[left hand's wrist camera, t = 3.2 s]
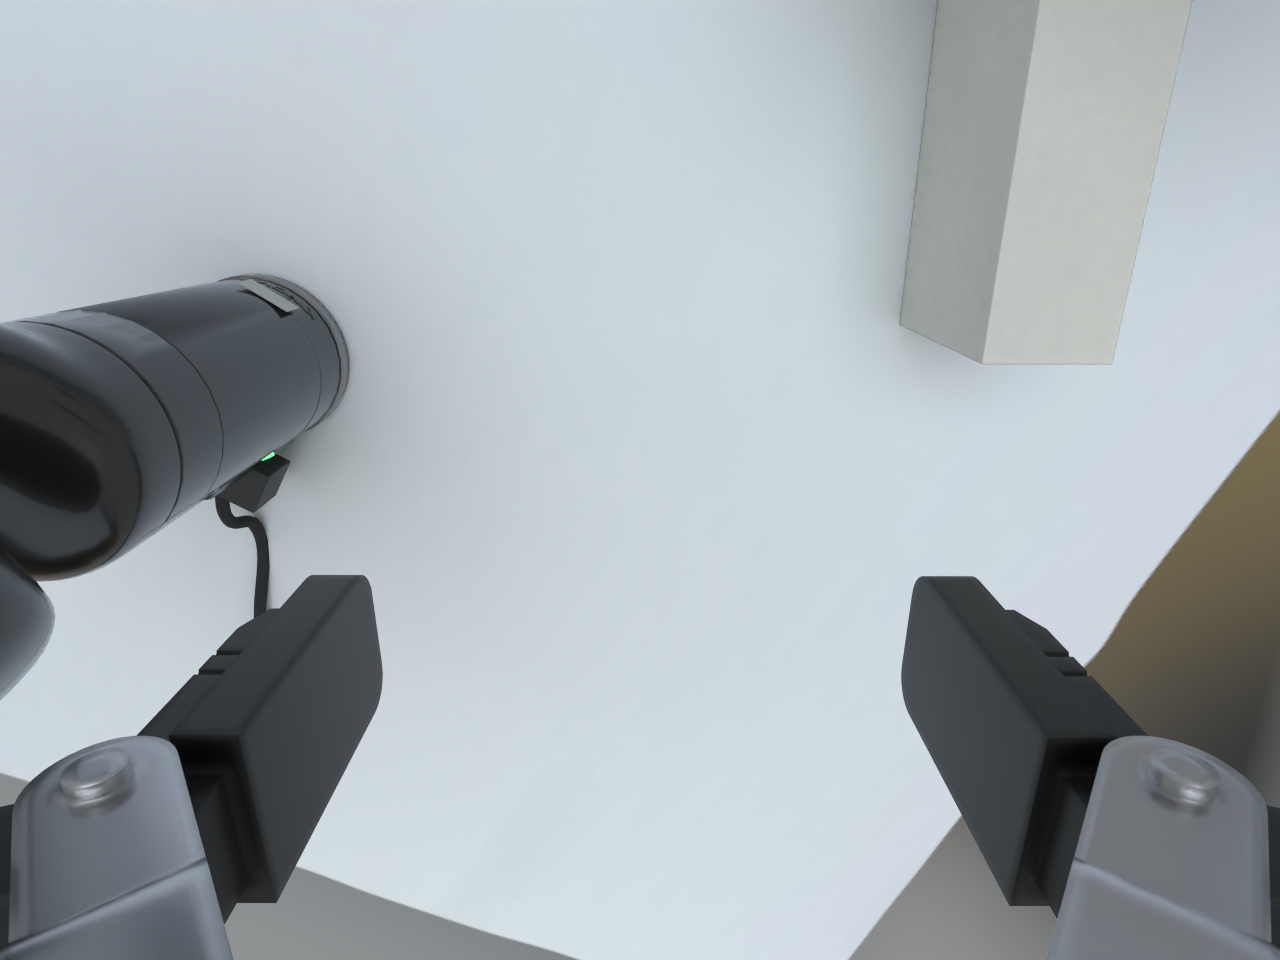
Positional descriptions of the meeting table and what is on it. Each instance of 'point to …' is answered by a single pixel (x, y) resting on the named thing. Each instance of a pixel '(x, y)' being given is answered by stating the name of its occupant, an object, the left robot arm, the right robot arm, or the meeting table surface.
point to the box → (1037, 173)
